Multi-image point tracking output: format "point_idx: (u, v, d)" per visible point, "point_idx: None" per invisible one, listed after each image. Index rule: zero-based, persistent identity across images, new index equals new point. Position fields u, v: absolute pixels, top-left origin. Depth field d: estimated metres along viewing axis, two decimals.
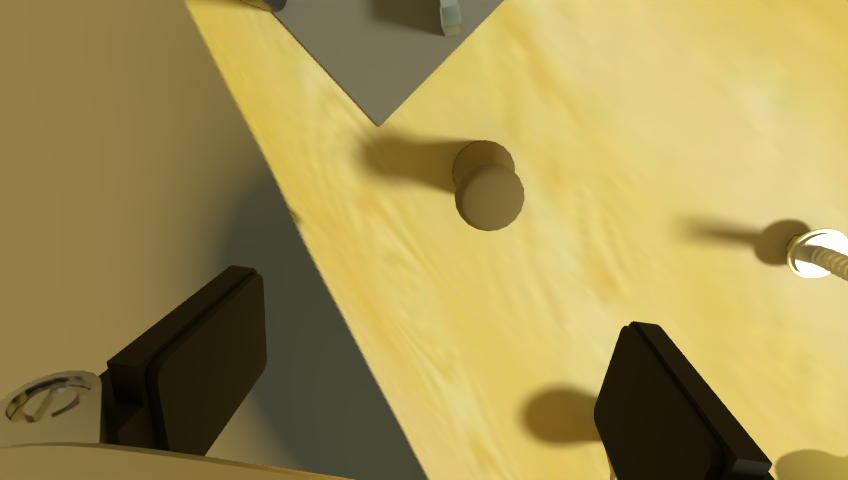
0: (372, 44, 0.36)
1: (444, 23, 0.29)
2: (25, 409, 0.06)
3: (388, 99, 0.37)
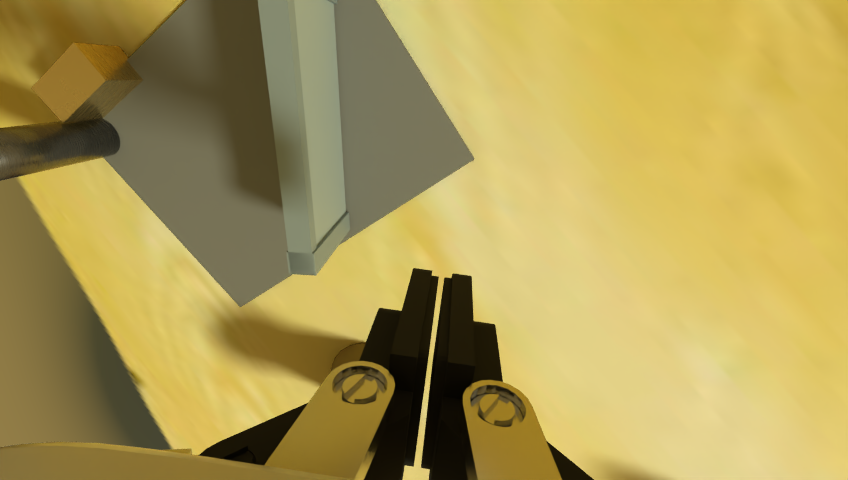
0: (234, 217, 0.27)
1: (292, 270, 0.20)
2: (345, 383, 0.07)
3: (253, 280, 0.29)
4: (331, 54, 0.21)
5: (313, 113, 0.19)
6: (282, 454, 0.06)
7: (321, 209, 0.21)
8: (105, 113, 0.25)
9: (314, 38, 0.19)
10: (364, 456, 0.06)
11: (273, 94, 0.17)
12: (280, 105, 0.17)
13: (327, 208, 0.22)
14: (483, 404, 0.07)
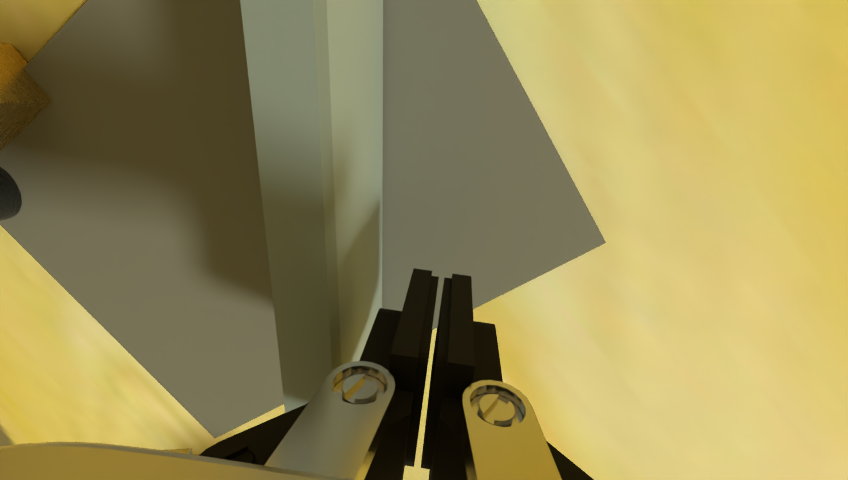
0: (206, 315, 0.17)
1: None
2: (345, 383, 0.07)
3: (235, 404, 0.19)
4: (376, 65, 0.12)
5: (348, 182, 0.10)
6: (282, 454, 0.06)
7: (352, 351, 0.11)
8: None
9: (354, 33, 0.09)
10: (364, 456, 0.06)
11: (267, 156, 0.07)
12: (282, 181, 0.07)
13: (360, 338, 0.12)
14: (483, 404, 0.07)
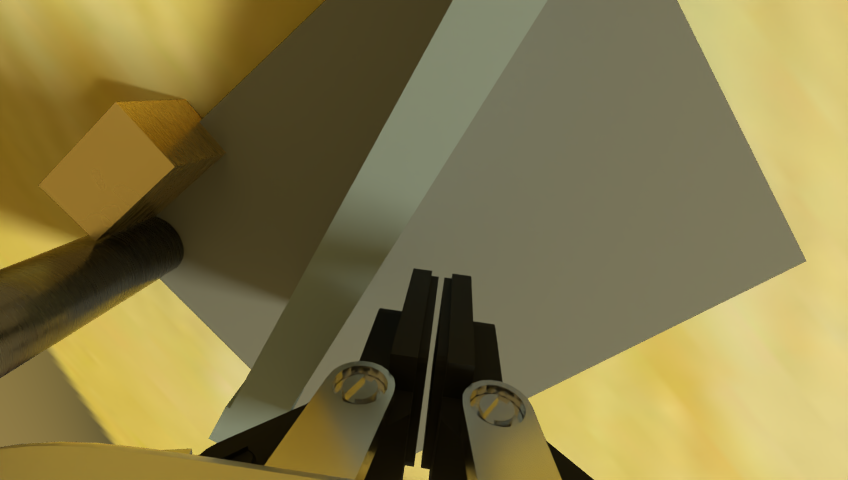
0: None
1: (219, 438, 0.10)
2: (345, 383, 0.07)
3: None
4: None
5: None
6: (282, 454, 0.06)
7: None
8: (161, 210, 0.15)
9: None
10: (364, 456, 0.06)
11: (391, 135, 0.07)
12: (392, 166, 0.07)
13: None
14: (483, 404, 0.07)
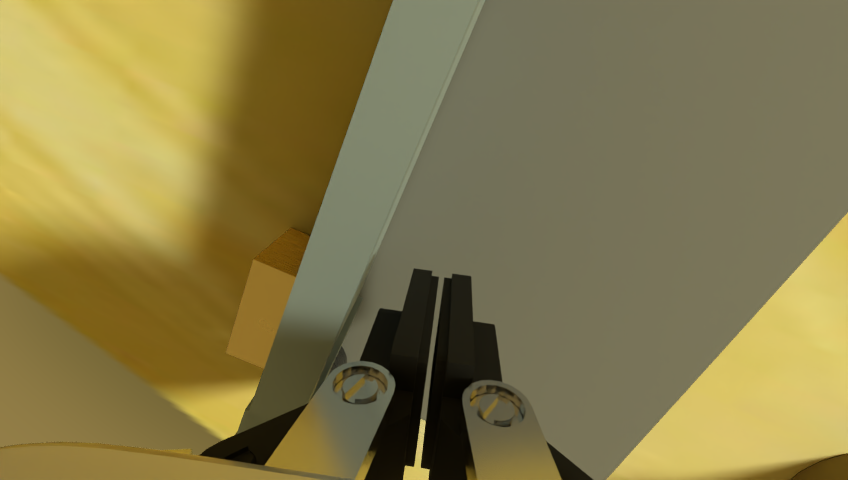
0: (543, 373, 0.16)
1: None
2: (345, 383, 0.07)
3: (604, 447, 0.17)
4: (459, 58, 0.11)
5: None
6: (282, 454, 0.06)
7: None
8: None
9: None
10: (364, 456, 0.06)
11: (362, 121, 0.07)
12: (367, 151, 0.07)
13: (345, 316, 0.12)
14: (483, 404, 0.07)
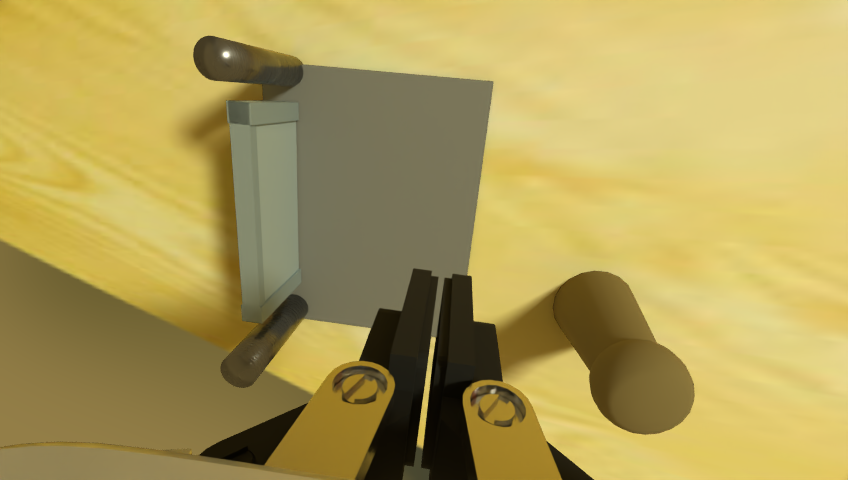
0: (398, 281, 0.32)
1: (245, 318, 0.27)
2: (344, 383, 0.07)
3: None
4: (291, 156, 0.29)
5: (269, 205, 0.26)
6: (282, 454, 0.06)
7: (272, 273, 0.28)
8: None
9: (274, 153, 0.26)
10: (364, 456, 0.06)
11: (237, 197, 0.24)
12: (242, 205, 0.24)
13: (278, 270, 0.29)
14: (483, 404, 0.07)
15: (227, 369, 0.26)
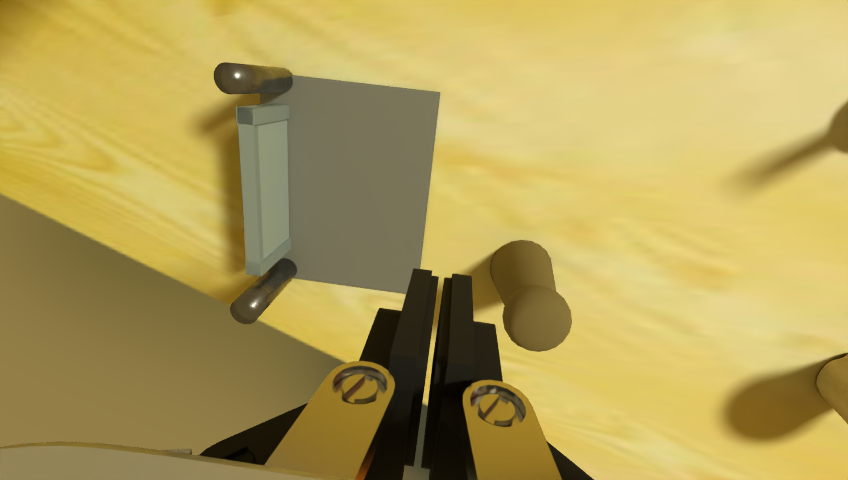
0: (369, 247, 0.40)
1: (248, 272, 0.35)
2: (345, 383, 0.07)
3: (408, 273, 0.41)
4: (283, 147, 0.36)
5: (267, 185, 0.34)
6: (282, 454, 0.06)
7: (268, 238, 0.36)
8: None
9: (270, 145, 0.34)
10: (364, 456, 0.06)
11: (243, 179, 0.32)
12: (246, 184, 0.32)
13: (273, 236, 0.37)
14: (483, 404, 0.07)
15: (235, 309, 0.34)
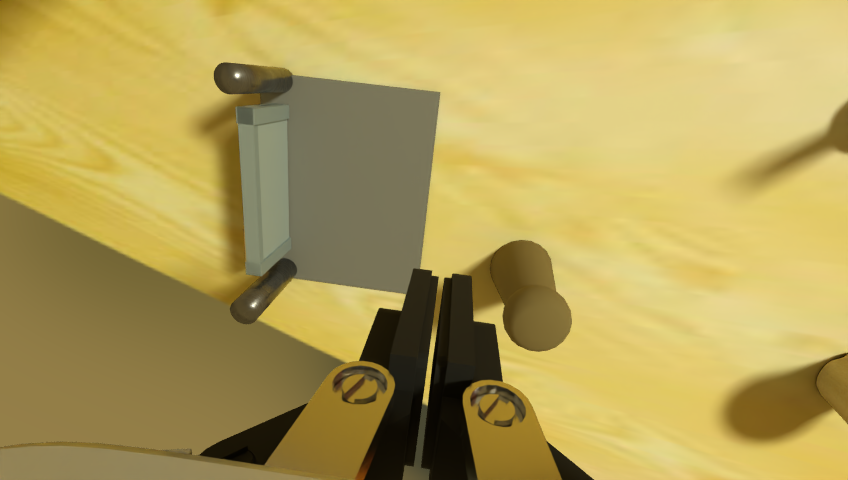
0: (368, 247, 0.40)
1: (248, 272, 0.35)
2: (345, 383, 0.07)
3: (408, 273, 0.41)
4: (283, 147, 0.36)
5: (267, 185, 0.34)
6: (282, 454, 0.06)
7: (268, 238, 0.36)
8: None
9: (270, 145, 0.34)
10: (364, 456, 0.06)
11: (243, 179, 0.32)
12: (246, 184, 0.32)
13: (273, 236, 0.37)
14: (483, 404, 0.07)
15: (235, 309, 0.34)
